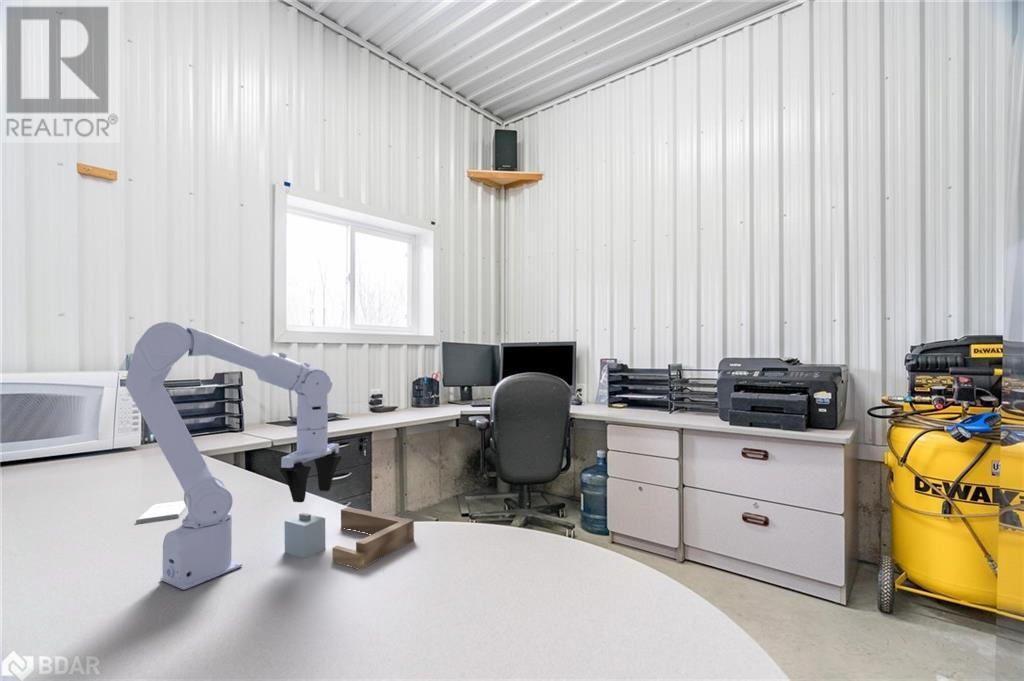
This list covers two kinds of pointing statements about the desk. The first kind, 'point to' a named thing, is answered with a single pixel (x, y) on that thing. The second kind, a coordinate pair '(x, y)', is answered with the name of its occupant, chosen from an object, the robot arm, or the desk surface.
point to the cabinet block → (304, 535)
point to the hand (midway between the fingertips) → (312, 495)
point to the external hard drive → (163, 512)
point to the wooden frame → (372, 536)
